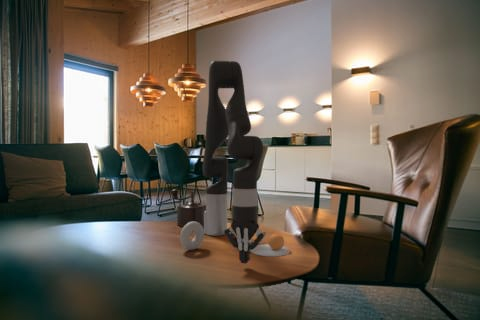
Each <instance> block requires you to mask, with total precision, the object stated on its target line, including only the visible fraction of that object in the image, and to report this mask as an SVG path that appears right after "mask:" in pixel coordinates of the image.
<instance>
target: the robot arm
mask: <svg viewBox="0 0 480 320" xmlns="http://www.w3.org/2000/svg"><path fill="white" fill-rule="evenodd" d="M209 64H210V65H209V68H208V103H207V104H208V105H207V115H206V123H205V124H206V125H205V145H204V147H205V148H204V153H203V160H202V174H203V176H204V177H205V178H207V179H208V178H210V179H211V178H213V179H217V178H218V179H219V180H218V181H217V182H215V183H214V184H211V185H208V186H206V188H205V206H206V211H204V225H203V229H204V235H205V234H206V235H208V236H218V237H219V236H226V237H227V239H228V240H229V242H230V244H231V245H232V246H233V248H236V249H238V259H239V261H240V263H241V264H243V265H246V264H247V263H249V262H250V260H251V251H250V250H253V249H254V248H255V247H256V246H257V245H260V243H261V242H262V240H263V239H264V238H265V237H266V235H267V234H266V231H262V230H261V229H260V225H259V223H258V216H259V215H258V209H259V207H258V205H259V199H258V197H259V196H258V172H259V171H258V170H259V166H260V163H261V159H262V157H263V153H264V143H263V141H262V138H260V137H259V136H257V135H248V134H249V133H250V132H251V129H252V124H251V120H250V117H249V113H248V109H247V102H246V96H245V84H244V79H243V78H244V77H243V70H242V67H241V65H240V63H239V62H238V61H234V60H212V61H211V62H210V63H209ZM219 89H233V90H234V91H233V92H232V93H233V94H232V95H231V97H230V98H229V101H228V103H227V104H226V107H225V106H224V104H223V102H222V100H221V98H220V95H219ZM227 138H228V140H227ZM226 140H227V144H226V152H227V154H228V156H229V157H230V158H231V159H232V160H240V161H241V160H242V161H243V160H244V161H245V160H248V161H247V163H246V165H245V166H242V167H238V168H235V169H233V172H232V173H233V174H232V193H231V194H232V195H231V219H232V221H231V223H230V226H229V227H228V181H229V179H228V178H229V177H228V176H229V160H228V158H227V157H226V156H219V155H218V156H217V155H216V156H215V155H214V154H215V153H216V151H217V150H218V149H219V148H220V147H221V146H222V145H223V144H224V143H225V142H226ZM254 236H255V237H256V238H255V239H254V240H253V238H254ZM252 241H253V242H252Z"/></svg>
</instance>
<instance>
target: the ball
mask: <svg viewBox="0 0 480 320" xmlns="http://www.w3.org/2000/svg"><path fill="white" fill-rule="evenodd" d="M268 244H269V246H270V247H271V248H272V249H274V250H279V249H281V248H282V247H283V246H285V239H284V237H283V236H282V235H281V234H278V233H273V234H271V235H270V236H269V238H268Z"/></svg>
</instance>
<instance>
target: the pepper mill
mask: <svg viewBox="0 0 480 320" xmlns="http://www.w3.org/2000/svg"><path fill="white" fill-rule="evenodd" d="M194 192H195V191H193V190H191V192H190V195H188V196H186V197H183V198H179V196H178V195H179V189H176V188H174V189H171V190H170V193H169V194H170V195H171V196H172V199H171V200H176V201H185V200H186V201H185V202H186V203H184V204H182V205H179V206H178V205H177V214H176V215H177V217H176V218H177V224H176V225H177V226H179V227H182V228H183V227H184V226H185V225H186V224H187V223H189V222H192V221H194V222H198V223H200V224H201V225H202V227H204V211H206V205H204V204H199V203H198V202H195V201H194ZM190 198H191V199H190ZM189 199H190V201H188V200H189Z"/></svg>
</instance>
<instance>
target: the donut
mask: <svg viewBox="0 0 480 320" xmlns="http://www.w3.org/2000/svg"><path fill="white" fill-rule="evenodd" d="M193 232H194V235H193V236H194V237H193V238H192V239H191V234H192V233H193ZM204 237H205V234H204V226H202V225H201V224H200V223H198V222H194V221H192V222H189V223H187V224H186V225H185V226H184V227H182V229H181V231H180V235H179V241H180V243H181V246H182V247H183V248H184V249H185V250H187V251H194V250H195V249H198V248H199V247H200V246H201V244H202V243H203V241H204V239H205V238H204Z"/></svg>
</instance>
